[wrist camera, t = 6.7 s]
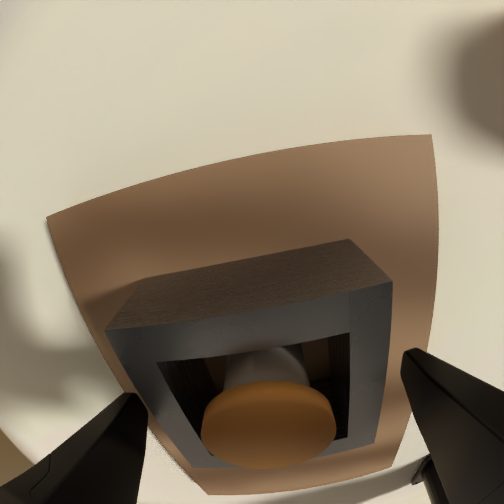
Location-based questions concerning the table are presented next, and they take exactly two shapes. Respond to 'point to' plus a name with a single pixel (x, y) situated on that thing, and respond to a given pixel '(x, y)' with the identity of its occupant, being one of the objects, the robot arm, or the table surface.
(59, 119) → the table surface
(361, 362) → the grey square frame
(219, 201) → the board
